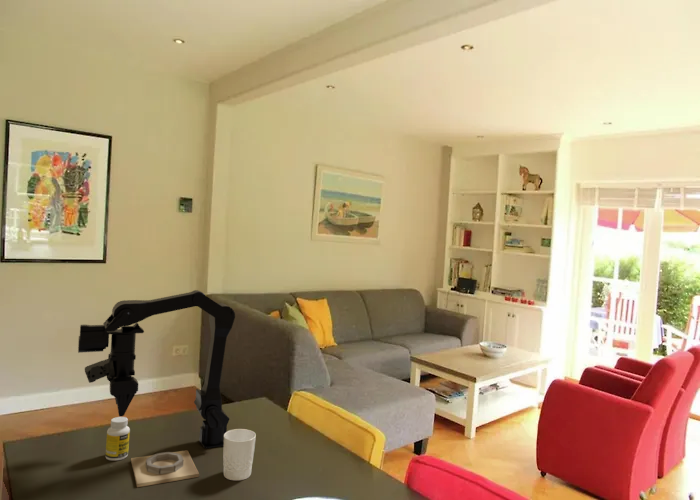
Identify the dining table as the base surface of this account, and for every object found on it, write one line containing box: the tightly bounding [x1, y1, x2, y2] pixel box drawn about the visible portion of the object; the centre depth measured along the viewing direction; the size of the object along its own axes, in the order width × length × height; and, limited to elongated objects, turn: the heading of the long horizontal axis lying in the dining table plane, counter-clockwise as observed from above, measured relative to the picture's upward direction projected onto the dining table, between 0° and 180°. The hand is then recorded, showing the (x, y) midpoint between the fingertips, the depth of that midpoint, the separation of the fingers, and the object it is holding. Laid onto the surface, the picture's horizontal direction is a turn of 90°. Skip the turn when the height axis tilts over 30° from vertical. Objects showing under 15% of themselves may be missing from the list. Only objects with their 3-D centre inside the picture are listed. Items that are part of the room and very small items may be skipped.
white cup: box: [222, 428, 257, 481], centre depth 124 cm, size 8×8×10 cm
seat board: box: [130, 449, 200, 488], centre depth 124 cm, size 14×14×2 cm
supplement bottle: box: [104, 416, 131, 462], centre depth 128 cm, size 5×5×10 cm
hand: (119, 409), depth 128 cm, fingers open, 9 cm apart
